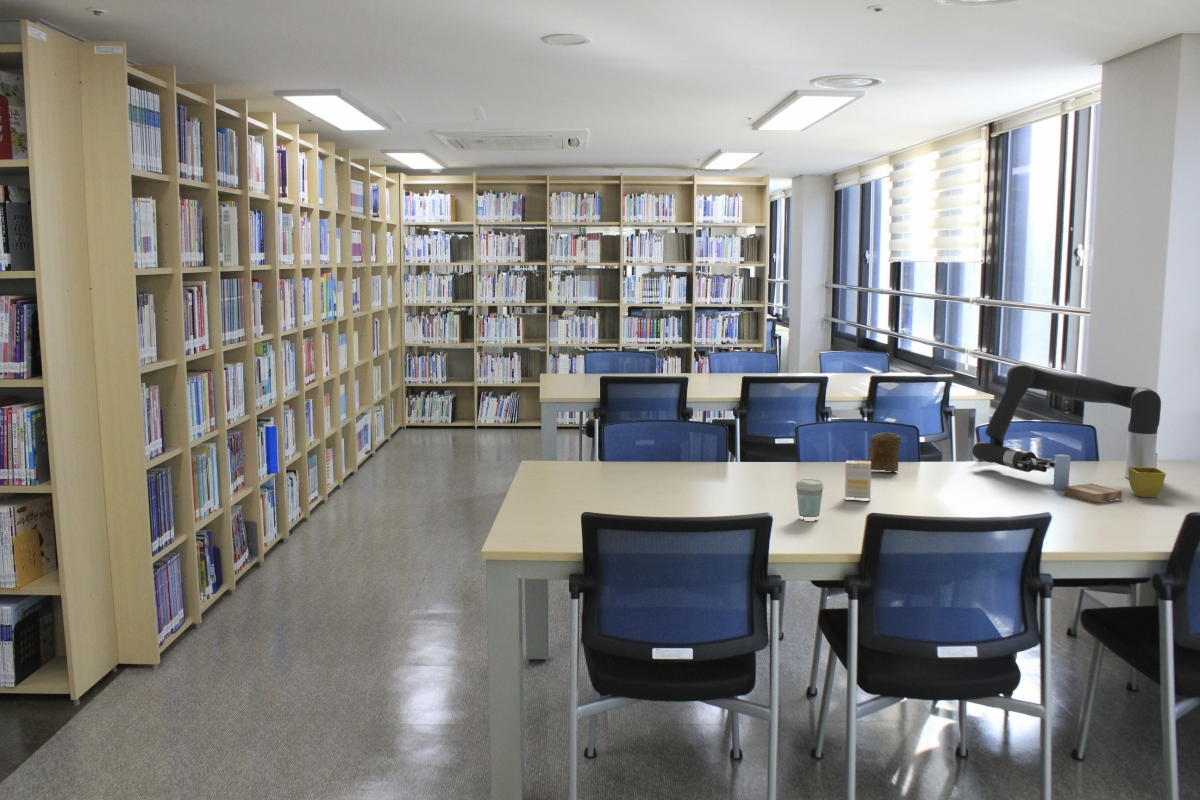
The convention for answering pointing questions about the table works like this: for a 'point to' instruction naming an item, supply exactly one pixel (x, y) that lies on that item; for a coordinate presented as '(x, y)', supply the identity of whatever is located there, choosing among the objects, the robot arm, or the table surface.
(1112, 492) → the stand
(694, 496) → the table surface
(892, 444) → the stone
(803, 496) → the coffee cup
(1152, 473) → the flower pot
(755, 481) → the table surface
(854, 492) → the supplement box
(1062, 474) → the pale blue tumbler
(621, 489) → the table surface
